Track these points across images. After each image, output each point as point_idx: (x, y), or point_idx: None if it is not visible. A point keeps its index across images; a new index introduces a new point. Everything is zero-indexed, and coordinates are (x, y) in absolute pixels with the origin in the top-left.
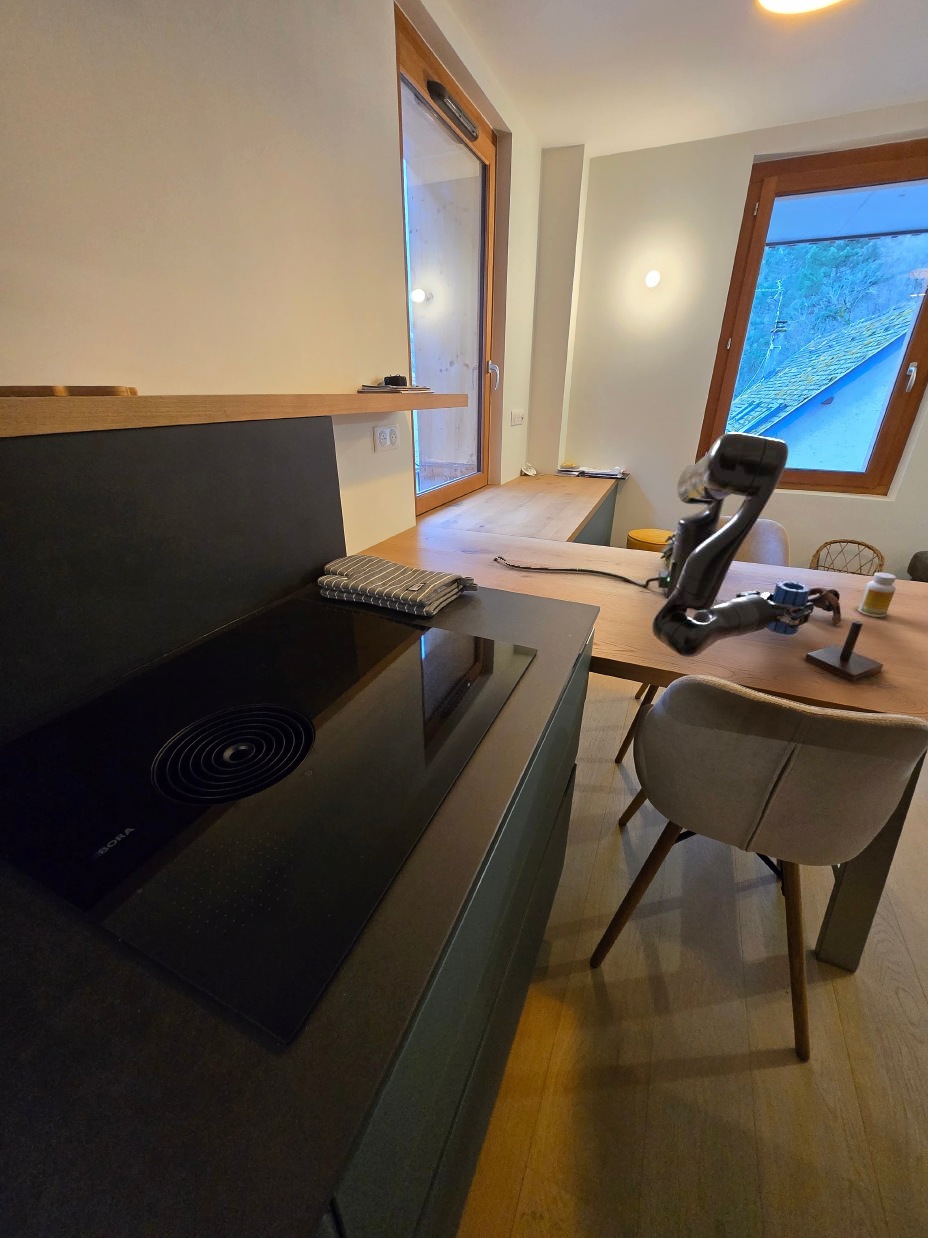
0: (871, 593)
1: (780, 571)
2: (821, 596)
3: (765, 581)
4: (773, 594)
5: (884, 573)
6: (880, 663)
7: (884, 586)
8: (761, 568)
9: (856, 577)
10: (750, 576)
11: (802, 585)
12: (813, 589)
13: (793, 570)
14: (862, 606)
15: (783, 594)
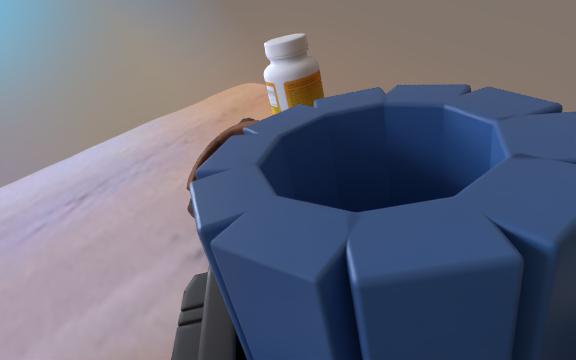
0: (295, 90)
1: (67, 168)
2: None
3: (55, 208)
4: (234, 350)
5: (275, 39)
6: None
7: (304, 61)
8: (23, 186)
9: (183, 110)
10: (8, 221)
11: (368, 100)
12: (215, 146)
13: (88, 152)
14: None
15: (502, 349)
